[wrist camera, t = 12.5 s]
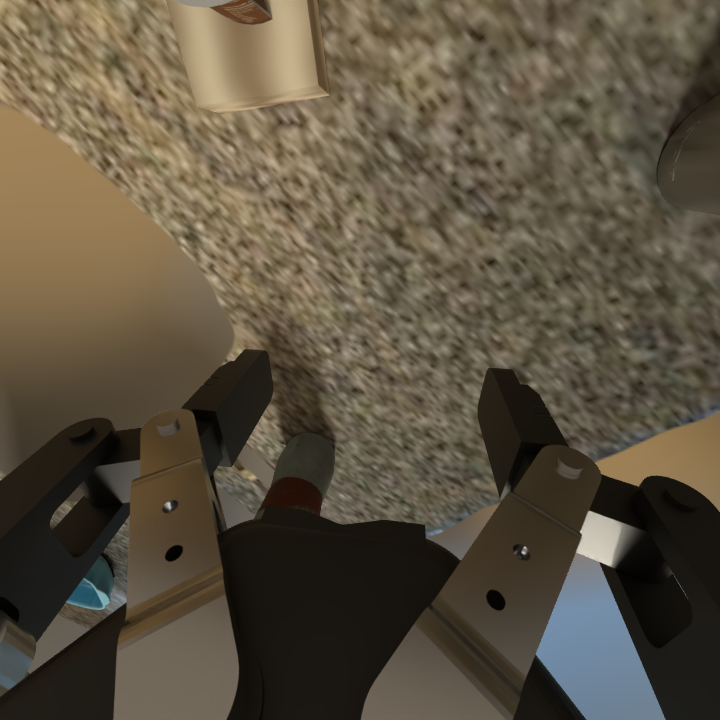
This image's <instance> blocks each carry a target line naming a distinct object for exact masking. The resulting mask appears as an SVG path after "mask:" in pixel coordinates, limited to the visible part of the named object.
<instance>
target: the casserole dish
mask: <svg viewBox="0 0 720 720" xmlns="http://www.w3.org/2000/svg"><path fill="white" fill-rule="evenodd" d="M113 585H114V580H113V575H112V572H111V570H110V567H109V565H108V563H107V561H106V560H105V559H104V557H102V556H101V555H100V556H99V558H98V559H97V560H96V562H95V563H94V564H93V566H92V567H91V569H90V570H89V571H88V573H87V574H86V575H85V577H84V578H83V580H82V581H81V582H80V584H79V585H78V586H77V588H76V589H75V590H74V592H73V593H72V595H71V596H70V597H69V599H68V600H67V601H66V603H70V604H74V605H78V606H82V607H86V608H90V609H97V610H101V609H104V608H105V606H106V604H108V603H109V602H110V597H109V596H110V594H111V592H112V589H113Z"/></svg>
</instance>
